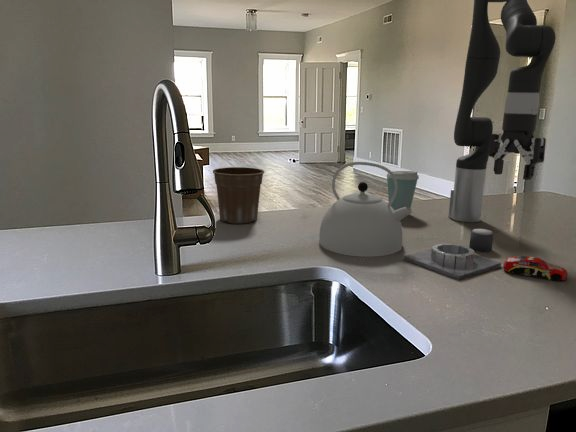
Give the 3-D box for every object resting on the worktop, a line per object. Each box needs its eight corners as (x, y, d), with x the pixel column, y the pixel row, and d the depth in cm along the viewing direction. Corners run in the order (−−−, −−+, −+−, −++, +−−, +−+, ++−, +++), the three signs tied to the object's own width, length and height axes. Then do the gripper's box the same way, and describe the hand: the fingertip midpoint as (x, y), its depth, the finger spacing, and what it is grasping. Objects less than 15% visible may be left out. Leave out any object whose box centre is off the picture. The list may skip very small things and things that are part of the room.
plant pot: (256, 212, 163) (255, 165, 159) (270, 223, 148) (271, 173, 144) (209, 215, 157) (208, 167, 153) (220, 228, 143) (218, 175, 139)
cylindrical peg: (464, 248, 127) (466, 230, 125) (477, 244, 130) (479, 227, 128) (483, 253, 122) (485, 235, 121) (496, 250, 125) (498, 232, 124)
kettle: (417, 239, 134) (424, 160, 129) (400, 263, 114) (407, 171, 109) (334, 228, 144) (337, 154, 139) (306, 249, 125) (307, 164, 119)
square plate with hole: (403, 259, 117) (404, 246, 116) (445, 248, 125) (446, 236, 125) (458, 280, 104) (460, 265, 103) (500, 266, 113) (502, 252, 112)
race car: (566, 276, 108) (569, 260, 107) (567, 284, 103) (570, 267, 102) (503, 266, 113) (505, 250, 113) (502, 273, 109) (504, 257, 108)
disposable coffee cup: (378, 213, 162) (380, 170, 159) (393, 208, 170) (396, 167, 167) (406, 219, 156) (410, 174, 152) (420, 213, 164) (424, 170, 160)
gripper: (486, 111, 121) (479, 173, 125) (537, 113, 108) (527, 182, 112) (506, 110, 124) (498, 171, 128) (557, 112, 112) (547, 180, 116)
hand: (512, 176), depth 120 cm, fingers open, 8 cm apart
